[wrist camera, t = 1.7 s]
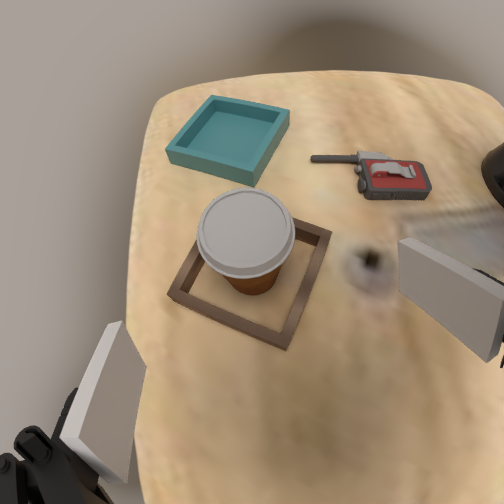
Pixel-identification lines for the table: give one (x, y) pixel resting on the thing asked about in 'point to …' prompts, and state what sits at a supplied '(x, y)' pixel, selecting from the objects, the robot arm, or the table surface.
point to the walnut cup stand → (181, 296)
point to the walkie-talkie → (385, 176)
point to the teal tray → (230, 139)
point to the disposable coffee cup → (246, 238)
